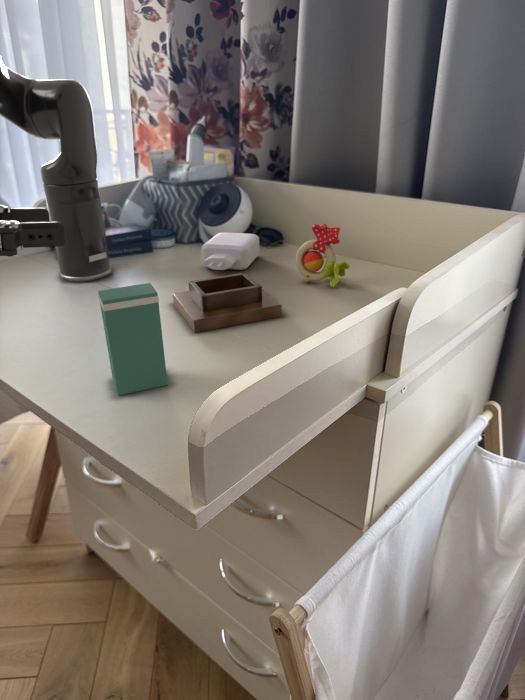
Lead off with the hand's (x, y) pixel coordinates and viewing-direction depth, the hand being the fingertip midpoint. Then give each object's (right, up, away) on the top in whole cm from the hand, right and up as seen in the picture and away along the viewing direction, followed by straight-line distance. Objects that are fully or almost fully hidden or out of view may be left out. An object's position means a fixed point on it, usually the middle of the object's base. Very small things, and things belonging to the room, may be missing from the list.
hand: (55, 225), depth 55 cm
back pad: (+6, -17, +12) cm, 21 cm away
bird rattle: (+31, -1, +42) cm, 52 cm away
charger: (+14, +3, +51) cm, 53 cm away
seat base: (+15, -6, +32) cm, 36 cm away
